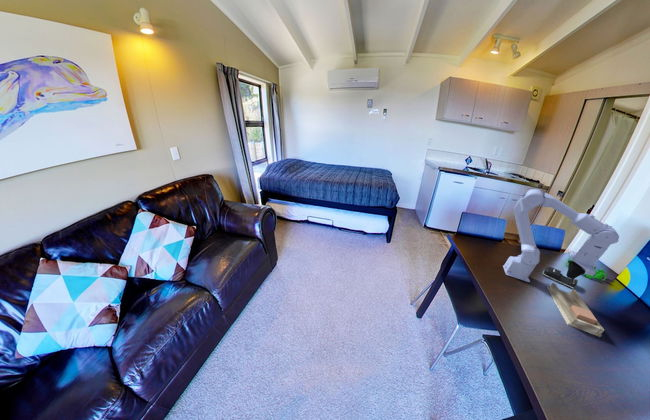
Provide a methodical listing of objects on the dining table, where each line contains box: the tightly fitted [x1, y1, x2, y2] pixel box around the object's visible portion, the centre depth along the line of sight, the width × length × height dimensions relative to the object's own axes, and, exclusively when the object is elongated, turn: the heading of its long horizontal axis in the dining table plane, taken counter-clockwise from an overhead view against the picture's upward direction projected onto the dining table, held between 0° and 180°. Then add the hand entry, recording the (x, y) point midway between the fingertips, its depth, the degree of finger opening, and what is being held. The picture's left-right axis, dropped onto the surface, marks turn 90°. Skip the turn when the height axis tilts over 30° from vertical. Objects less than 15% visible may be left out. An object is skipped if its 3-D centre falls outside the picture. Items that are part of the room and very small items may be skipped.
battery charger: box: [542, 266, 579, 290], centre depth 102 cm, size 7×4×11 cm
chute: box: [546, 282, 605, 338], centre depth 85 cm, size 9×22×4 cm, turn 150°
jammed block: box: [571, 305, 598, 325], centre depth 80 cm, size 5×5×4 cm
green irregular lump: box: [565, 257, 608, 281], centre depth 109 cm, size 15×15×7 cm
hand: (569, 277), depth 90 cm, fingers closed
